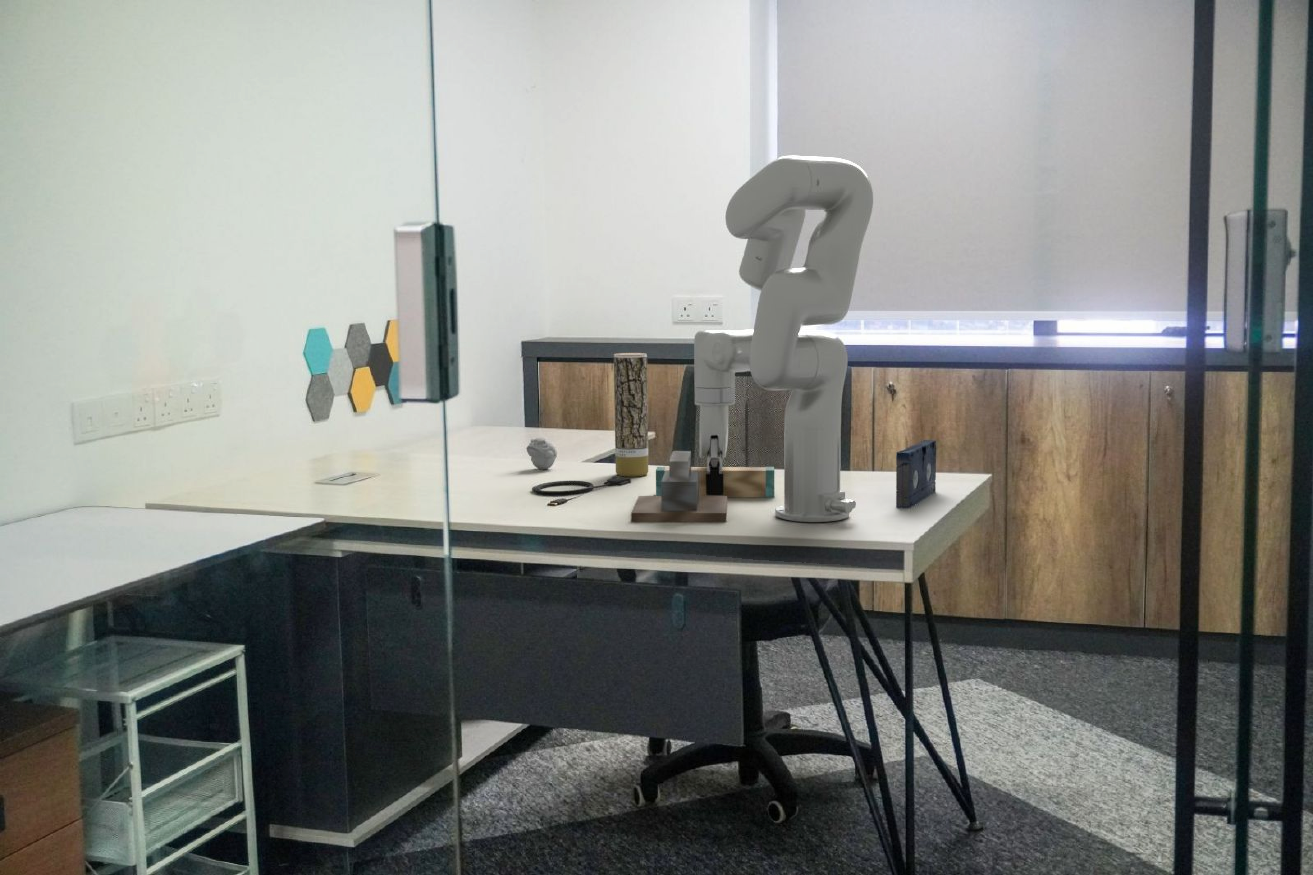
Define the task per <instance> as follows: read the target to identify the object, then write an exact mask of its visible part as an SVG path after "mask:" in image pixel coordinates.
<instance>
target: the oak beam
mask: <svg viewBox="0 0 1313 875" xmlns="http://www.w3.org/2000/svg"><path fill="white" fill-rule="evenodd" d="M665 470H669V466H657V467H656V469H655V496H661V481H662V478H663V476H664V473H665ZM691 470H699V496H727V498H774V499H775V467H774V466H759V467H758V466H747V467H746V466H735V467H734V466H723V467H722V473H723V495H707V494H706V473H707V466H703V467H702V466H699V467H698V466H691Z"/></svg>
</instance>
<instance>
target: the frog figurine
mask: <svg viewBox="0 0 1313 875" xmlns="http://www.w3.org/2000/svg"><path fill="white" fill-rule="evenodd" d="M556 447H557V446H555V445H554V444H553V443H551V442H549V441H548V440H546V438H545V437H541V436H539V437H536V438H531V439H530V442H529V444H528V445H527V446H526V452H527V454H528V455H529V457H531V458H530V460H531V461H530V462H531V463H532V464H533V466H534V467H535V468H537V469H539V470H542V471H543V470H544V471H545V470H549V469H550V468H552V466H553V465H554V463H555V461H556V459H557V457H558V451H557V449H556Z"/></svg>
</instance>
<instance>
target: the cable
mask: <svg viewBox="0 0 1313 875" xmlns="http://www.w3.org/2000/svg"><path fill="white" fill-rule="evenodd" d="M631 483H632V477H624V476H611V477H610V478H608V479H606V481H604V482H603V484H600V485H599V484H598V485H594V483H592V482H588V481H584V480H557V481H550V482H549V481H548V482H544V483H540V484H538V485H535V486H532V487H531V490H532V492H533V493H535V494H536V495H539V496H540V495H541V496H548V497H549V496H550V497H564V496H575V497H570V498H568V499H567V498H557V499H553V500H550V502H549V503H547V506H550V507H551V506H552V507H556V506H561V505H563V504H566V503H568V501H572V500H573V499H577V498H580V497H582V496H584V495H585V494H587V493H590V492H591V491H593V490H594V489H598V488H599V489H600V488H604V487H605V488H606V487H620V486H624V485H627V484H631ZM560 486H561V487H562V486H581V487H583V488H577V489H571V490H570V489H568V490H542V489H547V488H551V487H560Z"/></svg>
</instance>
